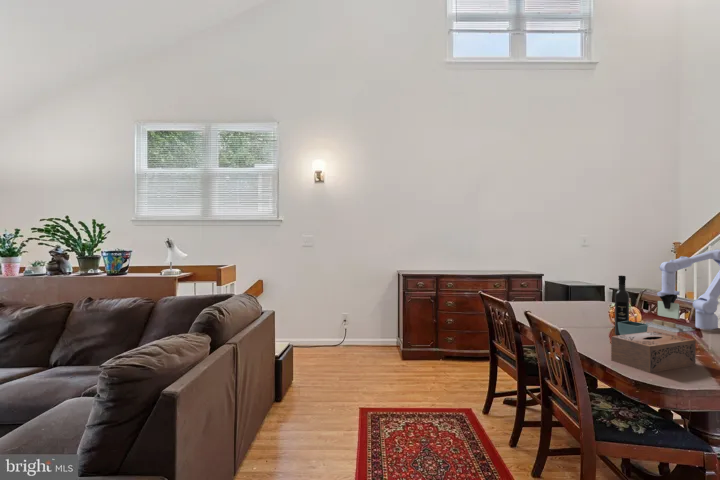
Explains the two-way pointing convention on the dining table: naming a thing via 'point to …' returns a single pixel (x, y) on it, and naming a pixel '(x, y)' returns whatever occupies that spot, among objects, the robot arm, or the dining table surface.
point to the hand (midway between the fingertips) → (668, 308)
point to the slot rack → (678, 327)
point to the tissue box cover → (653, 351)
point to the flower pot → (631, 327)
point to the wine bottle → (621, 304)
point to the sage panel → (668, 310)
